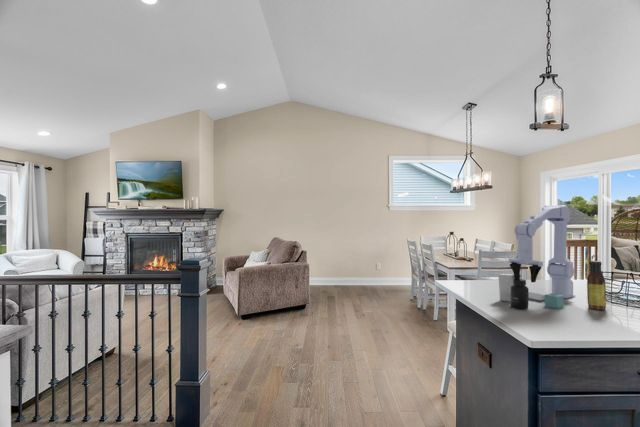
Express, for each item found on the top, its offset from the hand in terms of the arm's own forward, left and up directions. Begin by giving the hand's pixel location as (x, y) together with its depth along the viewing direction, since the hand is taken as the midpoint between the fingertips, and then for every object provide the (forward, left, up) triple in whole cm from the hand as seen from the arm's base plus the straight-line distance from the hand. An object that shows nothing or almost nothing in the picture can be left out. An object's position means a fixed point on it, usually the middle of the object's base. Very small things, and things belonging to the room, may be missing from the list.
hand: (525, 280), depth 163 cm
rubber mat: (-14, -4, -10) cm, 18 cm away
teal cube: (-6, +9, -10) cm, 15 cm away
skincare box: (+2, -7, -10) cm, 13 cm away
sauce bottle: (-17, +20, -10) cm, 28 cm away
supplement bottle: (+9, +3, -10) cm, 14 cm away
